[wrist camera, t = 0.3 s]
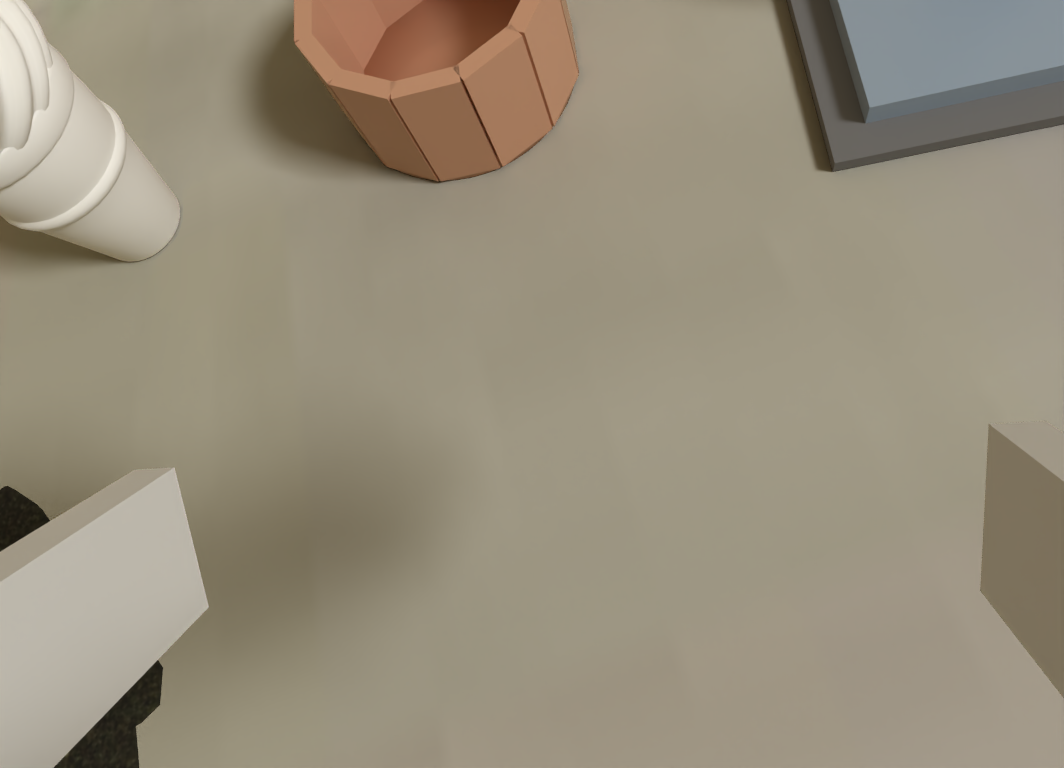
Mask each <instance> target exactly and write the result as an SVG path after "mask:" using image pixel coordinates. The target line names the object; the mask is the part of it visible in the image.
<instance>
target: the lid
mask: <svg viewBox="0 0 1064 768" xmlns="http://www.w3.org/2000/svg"><path fill="white" fill-rule="evenodd" d="M829 1H830V5H831V8H832V11H833V15H834V18H835V22H836V25H837V29H838V32H839V35H840V39H841V42H842V46H843V49H844V52H845V56H846V59H847V63H848V66H849V70H850V73H851V76H852V80H853V83H854V87H855V90H856V93H857V97H858V100H859V104H860V107H861V111H862V114H863V117H864V121H865V123H870V122H875V121H879V120H884V119H888V118H893V117H898V116H902V115H907V114H912V113H916V112H921V111H926V110H930V109H935V108H939V107H944V106H949V105H953V104H958V103H963V102H967V101H972V100H977V99H981V98H986V97H990V96H995V95H1000V94H1004V93H1009V92H1014V91H1018V90H1023V89H1028V88H1032V87H1037V86H1041V85H1046V84H1051V83H1055V82H1060V81H1064V0H829Z"/></svg>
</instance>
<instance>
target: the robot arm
mask: <svg viewBox="0 0 1064 768" xmlns="http://www.w3.org/2000/svg"><path fill="white" fill-rule="evenodd" d="M980 591H981V592H982V594H983V595H984V596H985V597H986V599H987V600H988V601H989V603H990V604H991V605H992V606H993V608H994V609H995V610H996V612H997V613H998V614H999V615H1000V617H1001V618H1002V619H1003V621H1004V622H1005V623H1006V624H1007V626H1008V627H1009V628H1010V630H1011V631H1012V632H1013V633H1014V635H1015V636H1016V637H1017V639H1018V640H1019V641H1020V642H1021V644H1022V645H1023V646H1024V648H1025V649H1026V650H1027V651H1028V653H1029V654H1030V655H1031V657H1032V658H1033V659H1034V660H1035V662H1036V663H1037V664H1038V666H1039V667H1040V668H1041V669H1042V671H1043V672H1044V673H1045V675H1046V676H1047V677H1048V678H1049V680H1050V681H1051V682H1052V684H1053V685H1054V686H1055V687H1056V689H1057V690H1058V691H1059V693H1060V694H1061V695H1062V696H1063V698H1064V432H1062V431H1061V430H1059V429H1058V428H1056V427H1055V426H1053V425H1051V424H1050V423H1048V422H1047V421H1032V422H1014V423H995V424H989V430H988V449H987V469H986V489H985V508H984V528H983V548H982V567H981V587H980ZM208 608H209V606H208V602H207V598H206V594H205V590H204V585H203V581H202V577H201V573H200V569H199V565H198V561H197V557H196V553H195V549H194V545H193V541H192V537H191V533H190V529H189V525H188V521H187V516H186V512H185V508H184V504H183V500H182V496H181V492H180V488H179V484H178V480H177V476H176V472H175V468H174V467H172V468H153V469H135V470H133V471H131V472H130V473H128V474H126V475H125V476H123V477H122V478H120V479H118V480H117V481H115V482H113V483H112V484H110V485H108V486H107V487H105V488H104V489H102V490H100V491H99V492H97V493H95V494H94V495H92V496H90V497H89V498H87V499H86V500H84V501H82V502H81V503H79V504H77V505H76V506H74V507H73V508H71V509H69V510H68V511H66V512H64V513H63V514H61V515H59V516H58V517H56V518H55V519H53V520H51V521H50V522H48V523H46V524H45V525H43V526H41V527H40V528H38V529H37V530H35V531H33V532H32V533H30V534H28V535H27V536H25V537H23V538H22V539H20V540H19V541H17V542H15V543H14V544H12V545H10V546H9V547H7V548H5V549H4V550H2V551H1V552H0V768H54V766H55V765H56V764H57V763H58V762H59V761H60V760H61V759H62V758H63V757H64V756H65V755H66V754H67V753H68V752H69V751H70V750H71V749H72V748H73V747H74V746H75V745H76V744H77V743H78V742H79V741H80V740H81V739H82V738H83V737H84V736H85V734H86V733H87V732H88V731H89V730H90V729H91V728H92V727H93V726H94V725H95V724H96V723H97V722H98V721H99V720H100V719H101V718H102V717H103V716H104V715H105V714H106V713H107V712H108V711H109V710H110V709H111V708H112V707H113V706H114V705H115V704H116V702H117V701H118V700H119V699H120V698H121V697H122V696H123V695H124V694H125V693H126V692H127V691H128V690H129V689H130V688H131V687H132V686H133V685H134V684H135V683H136V682H137V681H138V680H139V679H140V678H141V677H142V676H143V675H144V674H145V673H146V672H147V671H148V669H149V668H150V667H151V666H152V665H153V664H154V663H155V662H156V661H157V660H158V659H159V658H160V657H161V656H162V655H163V654H164V653H165V652H166V651H167V650H168V649H169V648H170V647H171V646H172V645H173V644H174V643H175V642H176V641H177V640H178V639H179V637H180V636H181V635H182V634H183V633H184V632H185V631H186V630H187V629H188V628H189V627H190V626H191V625H192V624H193V623H194V622H195V621H196V620H197V619H198V618H199V617H200V616H201V615H202V614H203V613H204V612H205V611H206V610H207V609H208Z"/></svg>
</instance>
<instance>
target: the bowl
mask: <svg viewBox="0 0 1064 768" xmlns="http://www.w3.org/2000/svg"><path fill="white" fill-rule="evenodd" d="M294 42H295V45H296V46H297V47H298V49H299V50H300V52H301V53H302V54H303V56H304V57H305V59H306V60H307V61H308V63H309V64H310V66H311V67H312V68H313V70H314V71H315V73H316V74H317V75H318V77H319V78H320V80H321V81H322V82H323V84H324V85H325V87H326V88H327V89H328V91H329V92H330V94H331V95H332V96H333V98H334V99H335V101H336V102H337V104H338V105H339V106H340V108H341V109H342V111H343V112H344V113H345V115H346V116H347V118H348V119H349V120H350V122H351V123H352V125H353V126H354V127H355V129H356V130H357V131H358V133H359V134H360V135H361V136H362V138H363V139H364V140H365V141H366V143H367V144H368V145H369V146H370V148H371V149H372V150H373V151H374V153H375V154H376V155H377V156H378V158H379V159H380V160H381V161H382V163H383V164H384V165H386V166H387V167H389V168H393V169H396V170H399V171H400V172H403V173H406V174H408V175H411V176H414V177H419V178H423V179H429V180H435V181H438V180H440V181H445V180H458V179H465V178H471V177H475V176H478V175H482V174H485V173H488V172H491V171H493V170H496V169H499V168H500V167H504V166H505V165H506V164H508V163H510V162H512V161H514V160H516V159H517V158H518V157H520V156H521V155H523V154H524V153H526V152H527V151H529V150H530V149H531V148H532V147H533V146H535V145H536V144H537V143H538V142H539V141H540V140H541V139H542V138H543V137H544V136H545V135H546V134H547V133H548V132H549V131H550V130H552V127H553V126H555V124H556V122H557V120H558V119H559V117H560V116H561V114H562V112H563V111H564V109H565V107H566V105H567V103H568V101H569V98H570V96H571V93H572V91H573V87H574V84H575V82H576V80H577V78H578V76H579V75H578V73H579V69H578V62H577V56H576V49H575V42H574V35H573V29H572V23H571V19H570V15H569V10H568V6H567V2H566V0H294Z"/></svg>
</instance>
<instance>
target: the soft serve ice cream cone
mask: <svg viewBox="0 0 1064 768" xmlns="http://www.w3.org/2000/svg"><path fill="white" fill-rule="evenodd" d="M0 216H1V217H3V218H4V219H5V220H6V221H7V222H8V223H10V224H12V225H14V226H16V227H18V228H20V229H24V230H30V231H40V232H42V233H45V234H48V235H51V236H54V237H57V238H59V239H62V240H65V241H68V242H71V243H73V244H76V245H79V246H82V247H85V248H88V249H90V250H93V251H96V252H99V253H102V254H105V255H107V256H110V257H113V258H116V259H119V260H122V261H127V262H133V261H140V260H145V259H147V258H149V257H152V256H153V255H155V254H156V253H158V252H159V251H160V250H162V249H163V248H164V247H165V246H166V245H167V244H168V242H169V241H170V240H171V239H172V237H173V235H174V234H175V232H176V229H177V227H178V224H179V220H180V207H179V202H178V200H177V198H176V196H175V195H174V193H173V192H172V191H171V189H170V188H169V187H168V185H167V184H166V183H165V182H164V180H163V179H162V178H161V176H160V175H159V174H158V172H157V171H156V170H155V169H154V167H153V166H152V165H151V163H150V162H149V161H148V159H147V158H146V157H145V156H144V154H143V153H142V152H141V150H140V149H139V148H138V146H137V145H136V144H135V143H134V141H133V140H132V139H131V137H130V136H129V135H128V133H127V132H126V131H125V128H124V126H123V123H122V121H121V119H120V117H119V116H118V115H117V113H116V112H115V111H114V110H113V108H111V107H110V106H109V105H107V104H106V103H104V102H103V101H101V100H99V99H98V98H97V97H96V96H95V95H94V93H93V92H92V91H91V90H90V89H89V88H88V87H87V86H86V85H85V84H84V83H83V82H82V81H81V80H80V79H79V78H78V77H77V76H76V75H75V74H74V73H73V72H72V71H71V70H70V68H69V66H68V63H67V61H66V60H65V58H64V57H63V56H62V55H61V53H60V52H59V51H58V50H56V49H55V48H54V47H53V46H52V45H50V44H49V43H48V42H47V40H46V37H45V35H44V33H43V30H42V28H41V26H40V24H39V22H38V20H37V19H36V17H35V16H34V14H33V13H32V11H31V10H30V8H29V7H28V5H27V4H26V3H25V2H24V1H23V0H0Z"/></svg>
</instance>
